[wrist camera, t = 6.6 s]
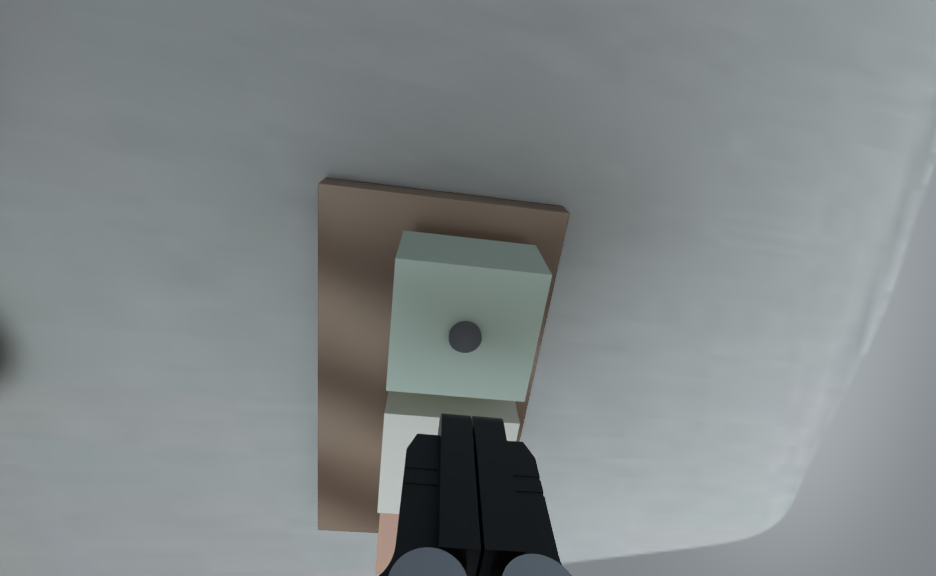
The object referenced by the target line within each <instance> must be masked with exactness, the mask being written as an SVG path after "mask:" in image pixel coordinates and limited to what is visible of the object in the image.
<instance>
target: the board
mask: <svg viewBox="0 0 936 576" xmlns="http://www.w3.org/2000/svg"><path fill="white" fill-rule="evenodd" d="M569 214H570V213H569V212H568V211H567V210H566V209H565V208H564V207H563V206H556V205H548V204H540V203H531V202H523V201H515V200H506V199H498V198H490V197H481V196H473V195H465V194H456V193H448V192H440V191H432V190H423V189H415V188H407V187H398V186H390V185H382V184H373V183H365V182H357V181H348V180H340V179H332V178H325V179H323V180H322V181H321V182H319V183H318V530H331V531H350V532H368V533H379V519H380V513H377V509H378V495H379V481H380V467H381V453H382V439H383V425H384V412H385V407H386V402H387V397H388V392H389V391H386V383H387V368H388V354H389V340H390V326H391V312H392V298H393V284H394V270H395V258H396V254H397V251H398V248H399V244H400V241H401V238H402V234H403V231H413V232H422V233H431V234H440V235H449V236H458V237H467V238H476V239H485V240H494V241H503V242H512V243H520V244H529V245H536V246H537V248H538V250H539V252H540V254H541V255H542V257H543V259H544V261H545V263H546V264H547V266H548V268H549V270H550V272H551V273H552V279H551V283H550V288H549V292H548V297H547V302H546V306H545V311H544V315H543V320H542V325H541V329H540V334H539V338H538V343H537V348H536V352H535V357H534V361H533V366H532V371H531V375H530V380H529V384H528V389H527V394H526V398H525V402H519V401H515V403H516V408H517V413H518V417H519V422H520V426H519V430H518V435H517V440H516V442H519V441H520V436H521V432H522V427H523V422H524V418H525V413H526V409H527V404H528V400H529V395H530V391H531V386H532V382H533V377H534V373H535V368H536V364H537V359H538V355H539V350H540V346H541V341H542V337H543V332H544V327H545V323H546V318H547V314H548V309H549V305H550V300H551V296H552V291H553V287H554V282H555V278H556V273H557V269H558V264H559V260H560V255H561V251H562V246H563V241H564V237H565V232H566V228H567V223H568V219H569Z"/></svg>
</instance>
